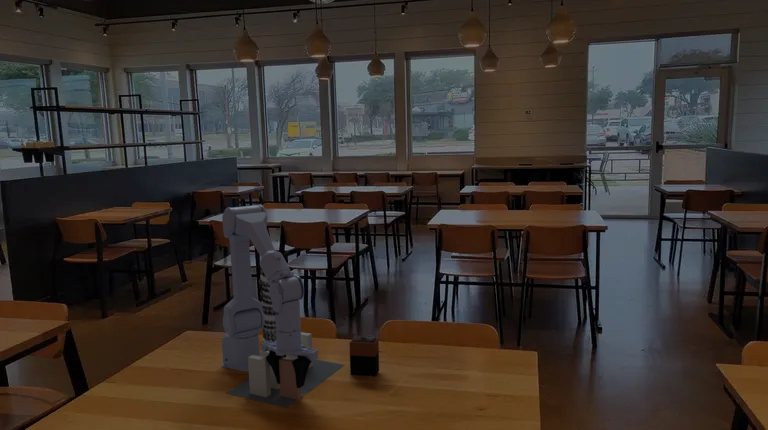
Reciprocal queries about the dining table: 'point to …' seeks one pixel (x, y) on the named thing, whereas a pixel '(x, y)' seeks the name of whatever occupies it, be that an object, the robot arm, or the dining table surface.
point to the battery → (364, 356)
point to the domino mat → (313, 379)
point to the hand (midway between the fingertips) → (290, 384)
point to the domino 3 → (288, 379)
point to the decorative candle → (267, 310)
